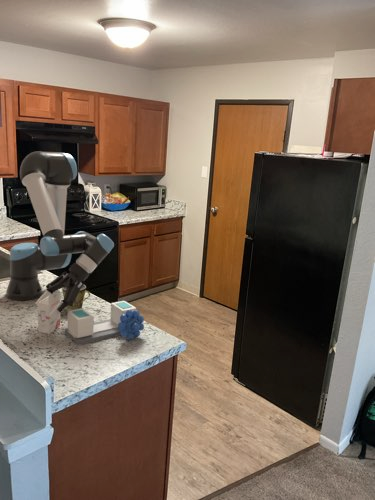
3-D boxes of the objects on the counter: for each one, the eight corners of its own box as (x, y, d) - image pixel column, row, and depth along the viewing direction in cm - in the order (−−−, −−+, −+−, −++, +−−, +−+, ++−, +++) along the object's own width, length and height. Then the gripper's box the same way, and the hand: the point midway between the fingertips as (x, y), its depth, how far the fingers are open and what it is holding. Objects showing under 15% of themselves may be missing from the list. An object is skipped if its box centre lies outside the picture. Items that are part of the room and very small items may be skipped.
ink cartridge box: (48, 323, 165) (49, 287, 161) (60, 325, 164) (61, 289, 160) (37, 332, 156) (36, 294, 153) (49, 334, 156) (49, 296, 152)
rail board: (64, 332, 158) (64, 309, 156) (122, 319, 173) (123, 298, 171) (78, 345, 149) (78, 321, 147) (138, 330, 164) (139, 308, 162)
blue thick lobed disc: (124, 347, 150) (125, 316, 147) (113, 340, 154) (114, 310, 152) (150, 339, 157) (151, 309, 155) (139, 333, 162) (140, 304, 159)
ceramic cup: (56, 310, 178) (56, 287, 176) (71, 302, 187) (71, 281, 185) (82, 316, 174) (82, 293, 171) (96, 308, 183) (96, 287, 180)
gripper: (103, 282, 156) (64, 328, 150) (75, 265, 175) (39, 306, 169) (91, 270, 151) (50, 317, 145) (62, 254, 170) (25, 295, 164)
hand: (44, 311), depth 157 cm, fingers open, 13 cm apart
